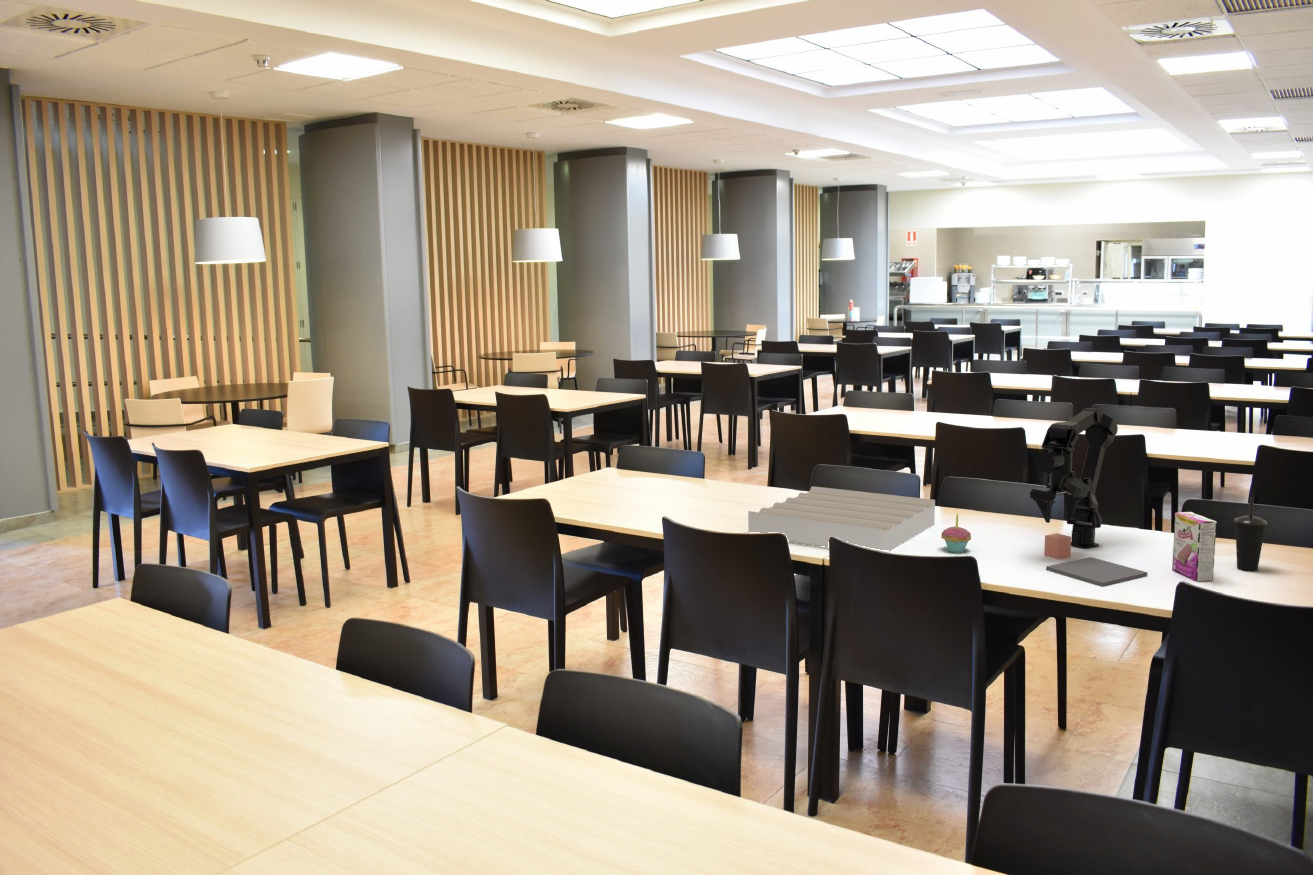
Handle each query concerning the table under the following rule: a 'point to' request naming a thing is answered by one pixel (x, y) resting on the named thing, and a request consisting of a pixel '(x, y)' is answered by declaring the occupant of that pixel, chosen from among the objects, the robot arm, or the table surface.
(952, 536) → the cupcake
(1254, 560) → the drinking cup
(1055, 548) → the red block
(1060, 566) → the mat
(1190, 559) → the candy bar box
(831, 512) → the tray
